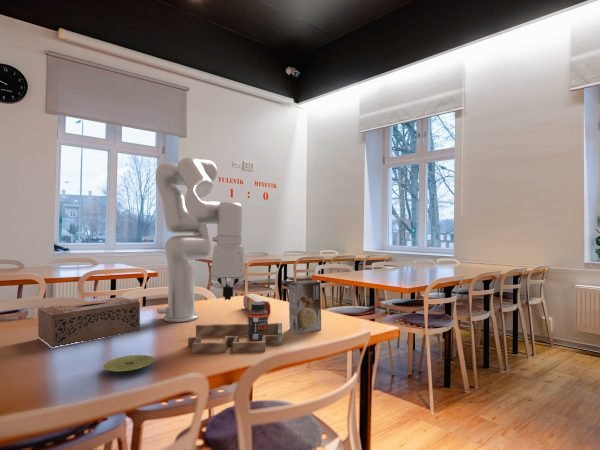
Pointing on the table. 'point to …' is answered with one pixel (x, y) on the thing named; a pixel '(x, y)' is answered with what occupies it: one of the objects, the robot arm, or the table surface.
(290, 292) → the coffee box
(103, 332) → the tissue box cover
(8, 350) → the table surface
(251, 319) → the supplement bottle
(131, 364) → the green disc
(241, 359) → the table surface
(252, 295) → the snack package
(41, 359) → the table surface
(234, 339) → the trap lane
